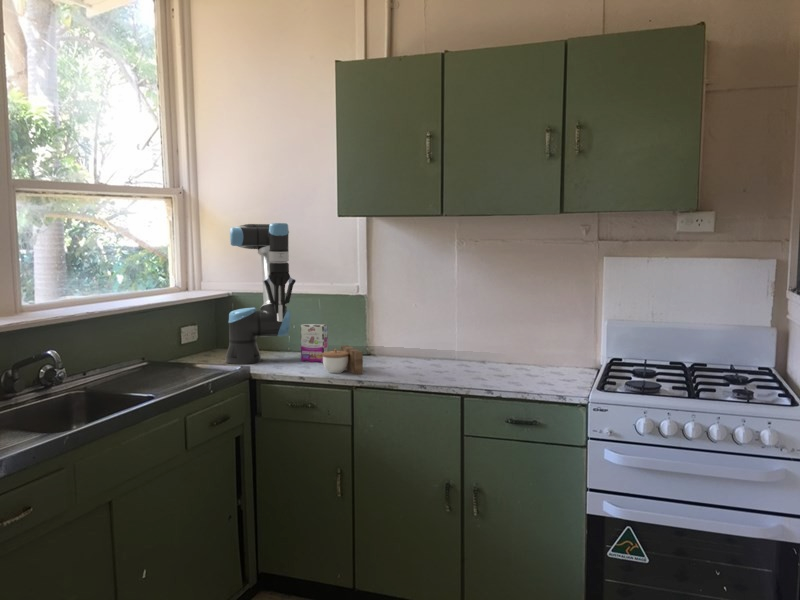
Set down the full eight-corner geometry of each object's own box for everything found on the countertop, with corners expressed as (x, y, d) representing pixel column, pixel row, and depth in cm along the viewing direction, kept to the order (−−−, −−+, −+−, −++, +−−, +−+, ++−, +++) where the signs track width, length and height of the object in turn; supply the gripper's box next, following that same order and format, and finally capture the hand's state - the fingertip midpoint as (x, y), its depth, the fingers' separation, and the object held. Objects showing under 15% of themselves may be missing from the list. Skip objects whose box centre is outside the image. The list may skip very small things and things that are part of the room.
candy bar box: (328, 360, 288) (328, 324, 287) (323, 362, 284) (323, 325, 282) (305, 359, 292) (305, 323, 290) (300, 361, 287) (300, 324, 285)
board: (341, 366, 274) (340, 345, 273) (347, 366, 275) (347, 345, 275) (355, 374, 258) (355, 352, 257) (362, 374, 259) (362, 351, 258)
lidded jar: (327, 368, 270) (327, 346, 269) (352, 369, 268) (352, 347, 267) (318, 373, 260) (318, 350, 259) (344, 374, 257) (344, 351, 257)
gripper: (265, 263, 251) (265, 323, 254) (297, 262, 256) (298, 321, 259) (260, 261, 257) (261, 320, 260) (292, 261, 263) (293, 318, 266)
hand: (279, 321), depth 260 cm, fingers closed
